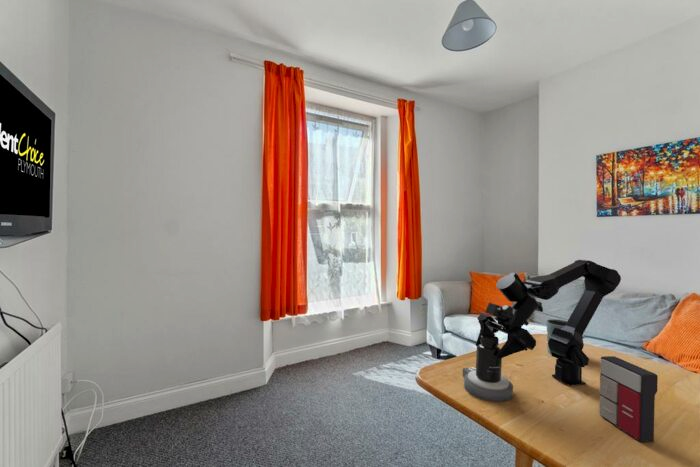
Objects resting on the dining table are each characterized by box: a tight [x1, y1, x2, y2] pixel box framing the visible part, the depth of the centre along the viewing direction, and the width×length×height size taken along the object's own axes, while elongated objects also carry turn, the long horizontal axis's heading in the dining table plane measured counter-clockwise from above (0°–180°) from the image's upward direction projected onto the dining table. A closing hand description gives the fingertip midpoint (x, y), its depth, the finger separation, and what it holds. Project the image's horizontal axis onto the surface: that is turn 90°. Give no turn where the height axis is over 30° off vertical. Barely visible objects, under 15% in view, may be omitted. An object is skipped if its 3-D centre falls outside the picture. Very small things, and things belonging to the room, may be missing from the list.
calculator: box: [598, 355, 658, 443], centre depth 76 cm, size 11×4×15 cm, turn 5°
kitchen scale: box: [462, 366, 514, 403], centre depth 95 cm, size 13×16×4 cm
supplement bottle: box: [475, 335, 503, 383], centre depth 94 cm, size 7×7×12 cm
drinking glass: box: [545, 318, 568, 355], centre depth 124 cm, size 10×10×12 cm
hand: (486, 351), depth 94 cm, fingers open, 9 cm apart
